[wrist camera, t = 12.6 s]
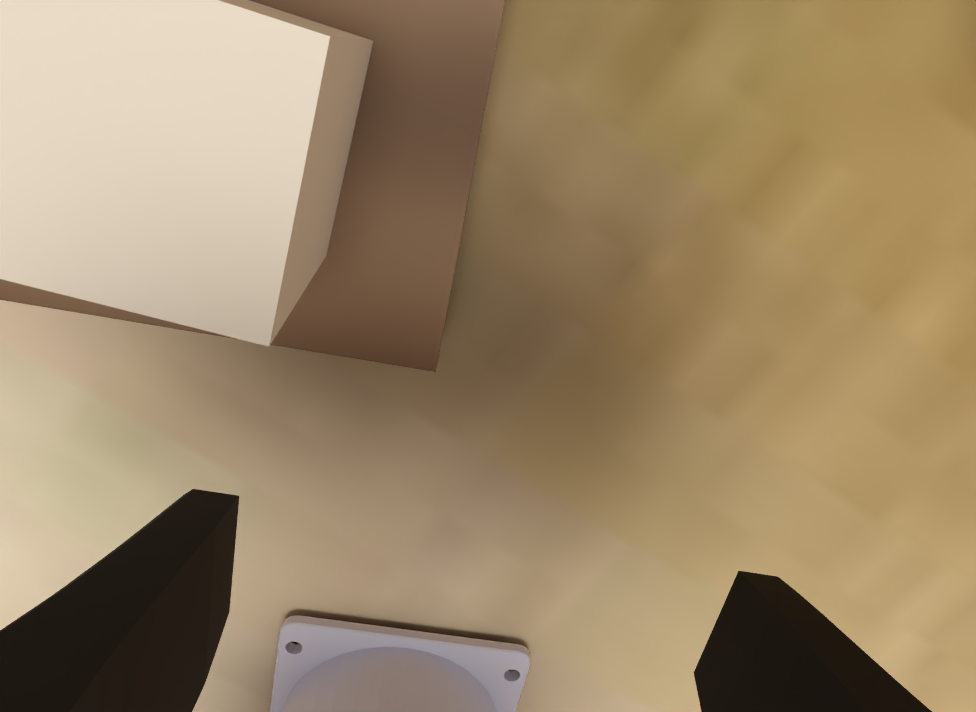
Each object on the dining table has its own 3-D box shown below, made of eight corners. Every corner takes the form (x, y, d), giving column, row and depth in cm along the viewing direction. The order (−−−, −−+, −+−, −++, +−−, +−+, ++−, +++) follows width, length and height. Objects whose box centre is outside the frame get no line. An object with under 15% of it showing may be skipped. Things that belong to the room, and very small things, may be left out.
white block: (326, 256, 15) (269, 346, 10) (113, 197, 14) (-48, 267, 10) (373, 40, 13) (330, 36, 9) (135, -38, 13) (-47, -86, 8)
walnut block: (439, 325, 19) (435, 371, 16) (51, 258, 18) (-23, 295, 15) (517, -101, 15) (530, -135, 12) (31, -219, 14) (-74, -286, 11)
